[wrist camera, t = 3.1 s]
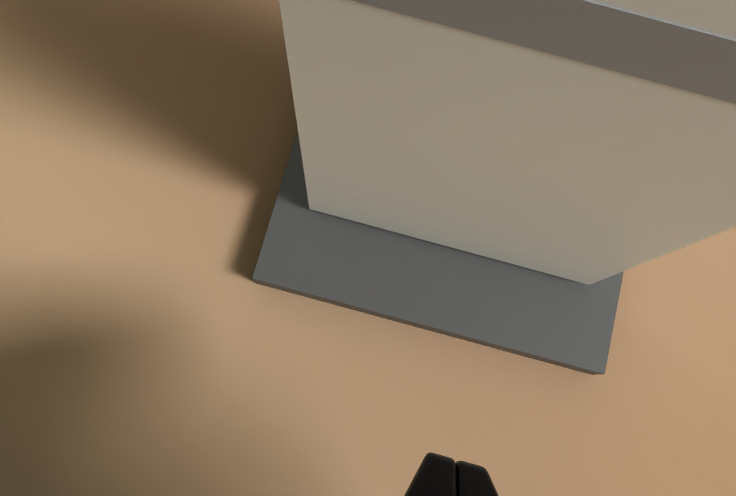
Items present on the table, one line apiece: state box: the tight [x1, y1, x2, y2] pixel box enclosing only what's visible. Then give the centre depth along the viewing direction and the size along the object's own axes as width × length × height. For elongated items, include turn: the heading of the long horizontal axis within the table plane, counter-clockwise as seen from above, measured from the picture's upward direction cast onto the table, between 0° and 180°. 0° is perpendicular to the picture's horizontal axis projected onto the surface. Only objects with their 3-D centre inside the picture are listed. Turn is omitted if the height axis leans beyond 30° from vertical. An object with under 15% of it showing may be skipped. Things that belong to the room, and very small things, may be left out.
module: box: [279, 0, 736, 285], centre depth 10 cm, size 4×7×14 cm, turn 75°
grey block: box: [252, 131, 624, 375], centre depth 14 cm, size 14×20×9 cm
